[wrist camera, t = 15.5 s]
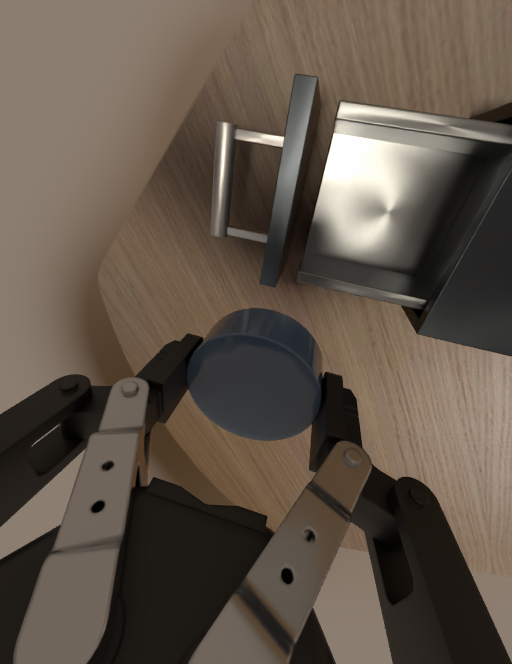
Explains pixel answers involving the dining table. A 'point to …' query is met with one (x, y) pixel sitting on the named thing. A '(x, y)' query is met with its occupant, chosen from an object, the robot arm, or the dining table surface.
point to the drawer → (369, 194)
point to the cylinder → (257, 375)
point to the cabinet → (478, 273)
